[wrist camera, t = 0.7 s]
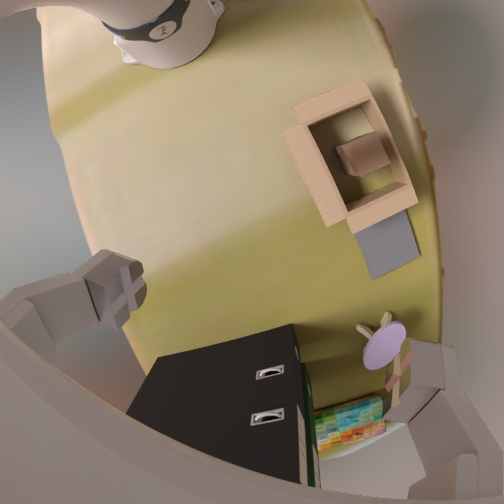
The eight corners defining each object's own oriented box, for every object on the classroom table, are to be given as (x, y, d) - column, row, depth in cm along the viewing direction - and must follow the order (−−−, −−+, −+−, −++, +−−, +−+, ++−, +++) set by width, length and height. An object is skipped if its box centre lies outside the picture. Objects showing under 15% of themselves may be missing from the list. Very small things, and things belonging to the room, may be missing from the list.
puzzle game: (386, 434, 53) (300, 457, 56) (382, 420, 57) (299, 442, 61) (383, 402, 50) (286, 428, 53) (378, 387, 54) (286, 413, 58)
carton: (272, 121, 42) (271, 116, 37) (354, 86, 39) (363, 78, 34) (328, 234, 46) (333, 243, 41) (405, 198, 43) (418, 202, 39)
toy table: (377, 298, 49) (387, 314, 43) (409, 322, 49) (420, 338, 44) (341, 339, 51) (347, 358, 46) (375, 359, 52) (383, 378, 47)
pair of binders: (186, 404, 59) (141, 528, 28) (154, 351, 55) (79, 479, 25) (310, 381, 54) (323, 530, 24) (290, 320, 51) (296, 487, 20)
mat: (352, 228, 46) (353, 229, 45) (402, 205, 44) (403, 205, 43) (372, 278, 48) (373, 279, 47) (418, 255, 46) (419, 256, 45)
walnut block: (333, 147, 42) (346, 144, 34) (358, 136, 42) (376, 131, 33) (345, 174, 43) (361, 176, 35) (370, 162, 42) (390, 163, 34)
